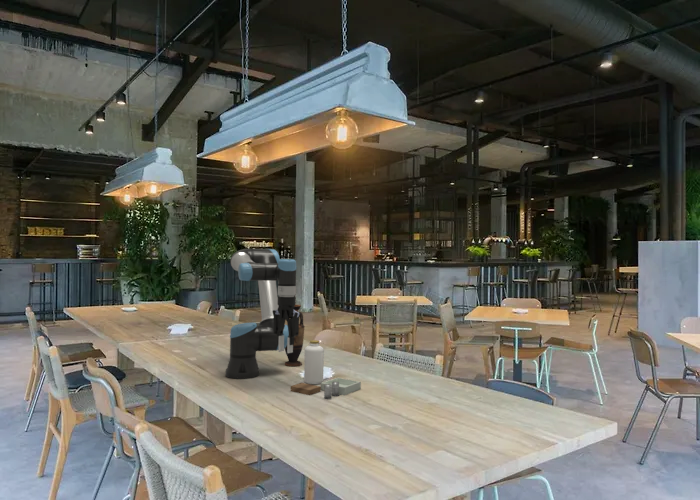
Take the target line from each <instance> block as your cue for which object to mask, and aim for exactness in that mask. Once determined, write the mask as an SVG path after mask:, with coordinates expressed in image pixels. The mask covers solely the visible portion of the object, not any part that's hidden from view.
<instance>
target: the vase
mask: <svg viewBox="0 0 700 500" xmlns="http://www.w3.org/2000/svg"><path fill="white" fill-rule="evenodd" d="M301 307H302V305H301V304H295V311H297V312H300V313H301V314H300V317H299V334H298V336H295V337H294V345H293V352H292V353H287V346H286V348H285V349H284V352H285V355H286V357H287V361H285V363H284V366H287V367H300V366H302V362H301V361H300V360H298V359H299V358H300V355H301V353H302V350H303V346H304V339H305V338H304V337H305V327H306V326H305V325H304V314H303V313H302V312H301V311H299V310H300V309H301ZM293 315H294V314H293ZM293 317H294V316H293ZM286 325H288V324H286Z"/></svg>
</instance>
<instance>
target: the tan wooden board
mask: <svg viewBox="0 0 700 500" xmlns="http://www.w3.org/2000/svg"><path fill="white" fill-rule="evenodd" d="M290 392H292V393H297V394H301V395H302V394H303V395H307V396H312V395H314V394H317V393H321V385H317V384H307V383H305V382H299V383H296V384H293V385H290Z"/></svg>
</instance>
